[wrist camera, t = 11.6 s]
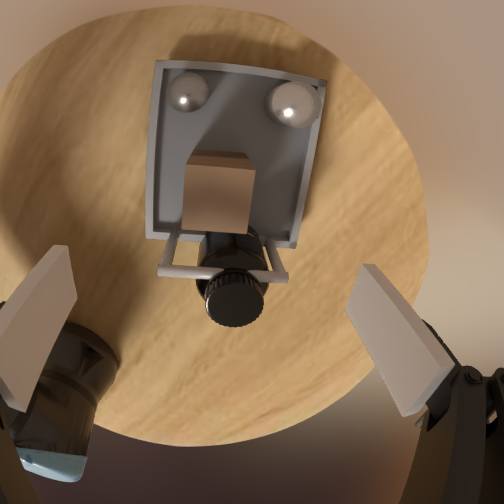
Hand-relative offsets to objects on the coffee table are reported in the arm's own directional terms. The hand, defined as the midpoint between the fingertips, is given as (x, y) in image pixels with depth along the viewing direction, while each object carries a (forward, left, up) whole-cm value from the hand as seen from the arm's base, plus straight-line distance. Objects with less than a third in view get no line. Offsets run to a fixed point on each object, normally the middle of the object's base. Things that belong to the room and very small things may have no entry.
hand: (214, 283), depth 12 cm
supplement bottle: (+2, -8, -21) cm, 22 cm away
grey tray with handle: (+1, +2, -21) cm, 21 cm away
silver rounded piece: (+6, +8, -18) cm, 21 cm away
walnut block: (0, 0, -18) cm, 18 cm away
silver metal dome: (-3, +8, -18) cm, 20 cm away
